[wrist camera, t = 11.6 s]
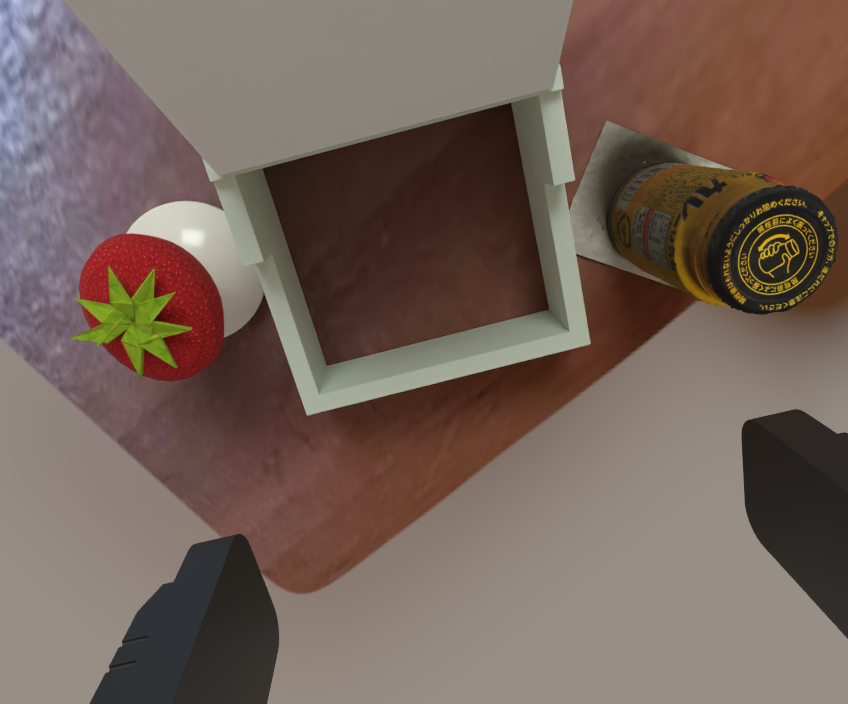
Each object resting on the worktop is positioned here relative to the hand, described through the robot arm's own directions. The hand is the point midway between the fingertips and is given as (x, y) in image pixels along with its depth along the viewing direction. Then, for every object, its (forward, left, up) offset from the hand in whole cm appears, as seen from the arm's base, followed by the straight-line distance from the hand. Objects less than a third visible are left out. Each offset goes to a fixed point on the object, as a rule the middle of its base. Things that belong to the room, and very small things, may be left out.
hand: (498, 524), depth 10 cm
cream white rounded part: (-2, -13, -27) cm, 30 cm away
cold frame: (-3, 0, -27) cm, 27 cm away
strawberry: (-1, -13, -27) cm, 30 cm away
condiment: (+1, +13, -28) cm, 31 cm away
